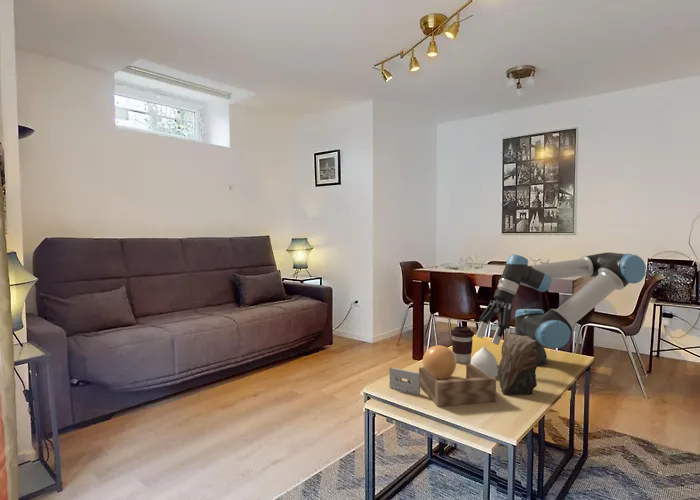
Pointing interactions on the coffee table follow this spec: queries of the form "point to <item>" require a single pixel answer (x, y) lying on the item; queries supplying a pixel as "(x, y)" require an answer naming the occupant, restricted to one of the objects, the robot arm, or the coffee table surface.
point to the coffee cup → (462, 343)
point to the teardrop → (485, 362)
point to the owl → (518, 365)
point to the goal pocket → (459, 388)
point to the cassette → (407, 385)
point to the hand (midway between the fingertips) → (486, 340)
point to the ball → (439, 361)
